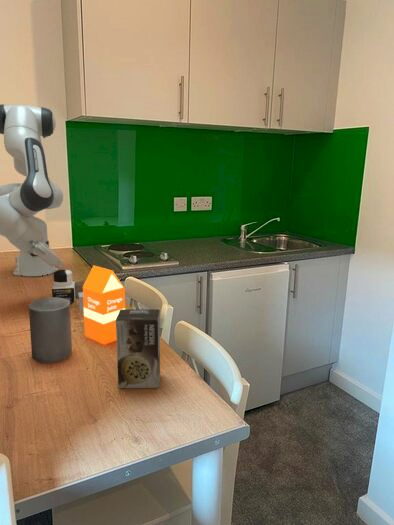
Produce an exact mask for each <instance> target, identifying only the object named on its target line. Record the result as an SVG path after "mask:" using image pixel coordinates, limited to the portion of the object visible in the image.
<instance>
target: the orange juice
mask: <svg viewBox="0 0 394 525" xmlns="http://www.w3.org/2000/svg"><path fill="white" fill-rule="evenodd" d="M84 281H85V283H84V285H83V287H82V288H83V302H84V311H83V319H84V320H83V321H84V337H86V338H89V339H91V340H93V341H95V342H97V343H99V344H101V345H104V346H105V345H108V344H110V343H113V342H115V341H117V339H116V318H117V316H118V314H119V312H120V310H126V294H125V292H126V290H125V287H124V285H123V284H122V283H121V281H120V279H119V277H118V276H117V275H116V274H115V272H114V270H112V269H108V268H105V267H101V266H98V265H92V268H91V269H90V272H89V273H88V275H87V278H86V280H84Z"/></svg>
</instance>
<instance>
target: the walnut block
mask: <svg viewBox="0 0 394 525" xmlns="http://www.w3.org/2000/svg"><path fill="white" fill-rule="evenodd" d="M85 281H86V280H77V281H74V282H75V299H77V300H79V297H78V293H79V292H83V288H82V287H83V285H84V283H85Z"/></svg>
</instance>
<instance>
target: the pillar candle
mask: <svg viewBox="0 0 394 525" xmlns="http://www.w3.org/2000/svg"><path fill="white" fill-rule="evenodd" d="M28 317H29V330H30V332H29V334H30V346H31V347H30V348H31V349H30V350H31V358H32V359H33V360H34V361H35V362H37V363H43V364H51V363H53V364H54V363H57V362H61V361H63V360H66V359H68V358H69V357H70V355H71V354H72V352H73V346H72V345H73V344H72V323H71V322H72V321H71V320H72V319H71V307H70V301H69V300H67V299H64V298H58V297H50V296H49V297H43V298H38V299H35V300H34V301H31V302H30V303H29V304H28Z"/></svg>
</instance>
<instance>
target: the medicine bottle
mask: <svg viewBox="0 0 394 525" xmlns="http://www.w3.org/2000/svg"><path fill="white" fill-rule="evenodd" d="M52 274H53V275H52V276H53V283H52V287H51V296H52V297H58V298H64V299H67V300H69V301H70V308H74V307H75V306H76V299H77V298H75V282H76V281H73V271H71V270H70V269H59V270H57V271H55V272H53V273H52Z"/></svg>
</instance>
